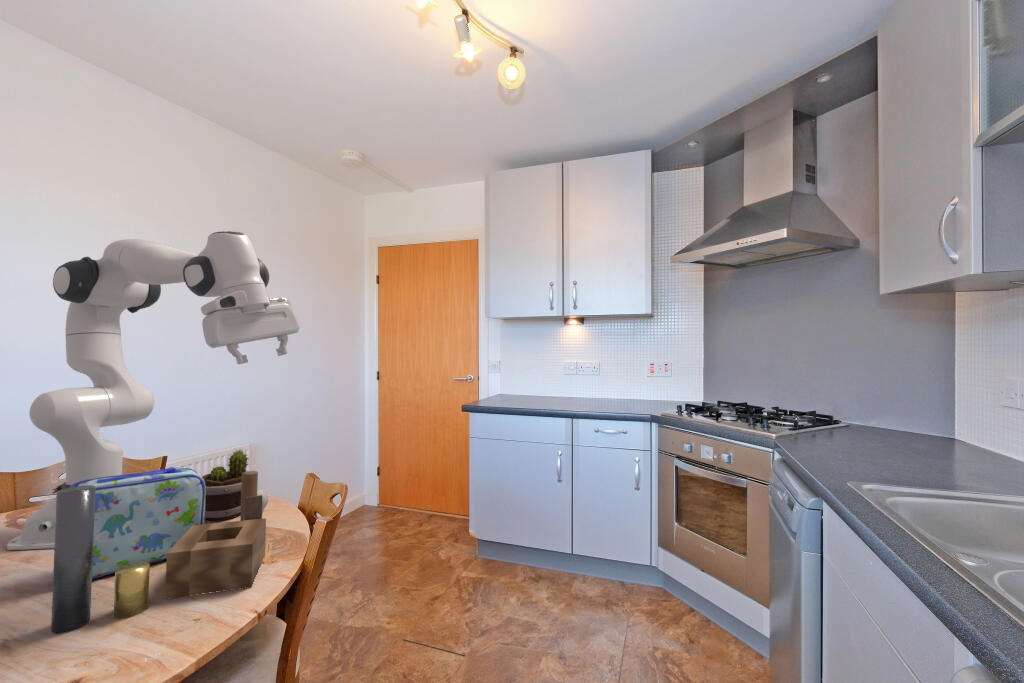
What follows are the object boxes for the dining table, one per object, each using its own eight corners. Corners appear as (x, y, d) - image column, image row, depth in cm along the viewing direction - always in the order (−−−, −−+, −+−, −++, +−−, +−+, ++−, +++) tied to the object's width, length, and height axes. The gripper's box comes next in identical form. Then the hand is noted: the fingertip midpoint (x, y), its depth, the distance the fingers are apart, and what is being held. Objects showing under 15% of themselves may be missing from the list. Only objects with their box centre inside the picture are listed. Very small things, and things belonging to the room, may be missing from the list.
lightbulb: (249, 525, 126) (250, 486, 126) (271, 525, 126) (272, 486, 126) (237, 534, 120) (238, 493, 120) (261, 534, 120) (262, 492, 120)
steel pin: (43, 635, 77) (49, 494, 77) (61, 619, 81) (67, 486, 82) (80, 630, 78) (86, 492, 79) (96, 614, 83) (101, 484, 84)
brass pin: (107, 620, 81) (109, 576, 81) (121, 605, 86) (122, 563, 86) (141, 615, 83) (142, 572, 83) (152, 601, 87) (154, 560, 88)
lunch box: (197, 539, 116) (199, 458, 117) (208, 551, 109) (210, 465, 110) (54, 574, 97) (58, 477, 98) (56, 592, 90) (60, 488, 91)
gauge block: (165, 599, 88) (166, 553, 88) (191, 565, 102) (192, 525, 103) (251, 587, 93) (252, 543, 93) (264, 556, 107) (266, 518, 108)
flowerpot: (190, 528, 123) (192, 455, 124) (197, 511, 136) (199, 445, 137) (251, 519, 130) (253, 450, 131) (252, 503, 144) (254, 441, 144)
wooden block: (244, 557, 107) (246, 481, 107) (238, 541, 115) (240, 471, 116) (261, 553, 109) (263, 479, 109) (254, 538, 117) (256, 469, 118)
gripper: (281, 299, 113) (296, 352, 113) (192, 308, 95) (210, 371, 96) (296, 293, 109) (311, 348, 110) (205, 302, 92) (224, 366, 93)
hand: (263, 359), depth 103 cm, fingers open, 8 cm apart
